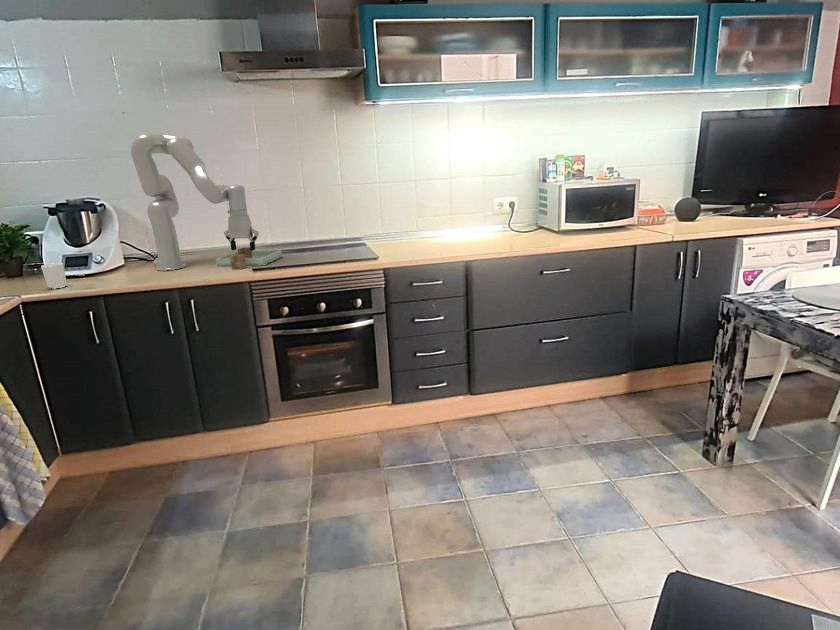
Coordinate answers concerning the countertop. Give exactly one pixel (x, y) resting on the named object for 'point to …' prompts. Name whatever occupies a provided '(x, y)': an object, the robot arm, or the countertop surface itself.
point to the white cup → (54, 274)
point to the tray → (258, 258)
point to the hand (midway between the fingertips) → (243, 250)
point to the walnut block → (245, 252)
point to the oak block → (238, 261)
